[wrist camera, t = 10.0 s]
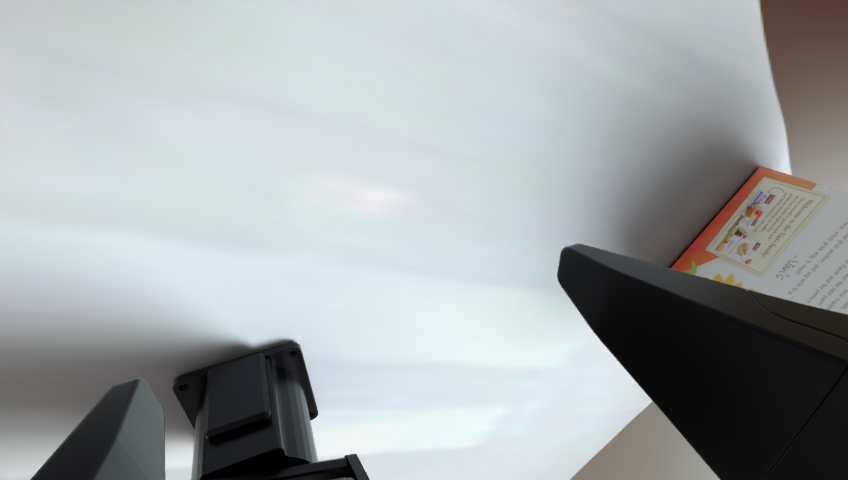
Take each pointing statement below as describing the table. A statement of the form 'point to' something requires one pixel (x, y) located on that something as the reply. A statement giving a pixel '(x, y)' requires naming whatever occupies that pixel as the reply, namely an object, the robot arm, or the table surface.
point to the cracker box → (778, 242)
